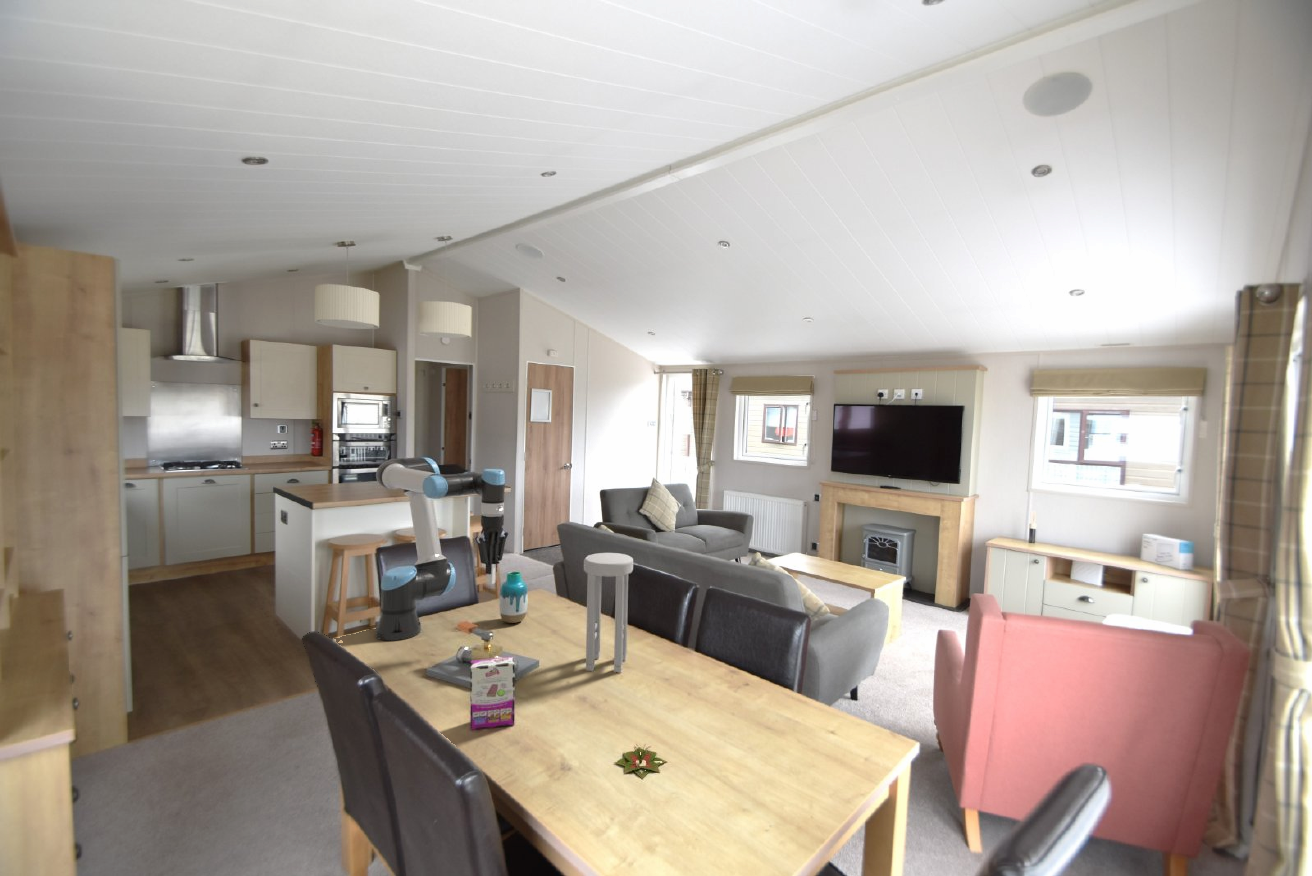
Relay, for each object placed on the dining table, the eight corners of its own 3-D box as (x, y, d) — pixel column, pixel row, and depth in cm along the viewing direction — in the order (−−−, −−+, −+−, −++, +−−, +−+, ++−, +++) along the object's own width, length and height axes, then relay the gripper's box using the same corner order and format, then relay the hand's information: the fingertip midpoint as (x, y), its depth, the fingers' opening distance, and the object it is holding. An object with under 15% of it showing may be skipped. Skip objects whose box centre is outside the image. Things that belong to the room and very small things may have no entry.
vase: (523, 627, 223) (524, 577, 223) (495, 626, 224) (496, 576, 223) (530, 617, 234) (530, 569, 233) (503, 616, 234) (504, 569, 233)
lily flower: (638, 744, 146) (639, 726, 145) (676, 764, 138) (677, 745, 138) (604, 765, 137) (604, 746, 136) (642, 788, 129) (643, 767, 129)
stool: (633, 656, 198) (635, 553, 197) (626, 676, 183) (628, 564, 182) (588, 653, 200) (590, 551, 199) (577, 673, 184) (579, 562, 183)
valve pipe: (454, 664, 185) (454, 636, 184) (468, 658, 190) (468, 630, 190) (506, 679, 175) (507, 649, 175) (519, 671, 181) (520, 642, 180)
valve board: (426, 675, 180) (426, 668, 180) (477, 650, 200) (477, 644, 200) (491, 694, 169) (491, 687, 169) (539, 666, 189) (539, 660, 189)
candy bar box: (514, 716, 157) (514, 655, 157) (514, 725, 152) (515, 663, 152) (470, 721, 154) (471, 659, 154) (469, 731, 149) (470, 667, 149)
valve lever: (485, 641, 180) (485, 636, 180) (456, 629, 190) (456, 623, 190) (495, 638, 183) (495, 632, 183) (466, 626, 193) (466, 620, 193)
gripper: (485, 518, 193) (483, 589, 194) (514, 513, 204) (512, 580, 205) (469, 515, 197) (468, 585, 198) (499, 510, 208) (497, 576, 209)
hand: (490, 582), depth 202 cm, fingers closed
